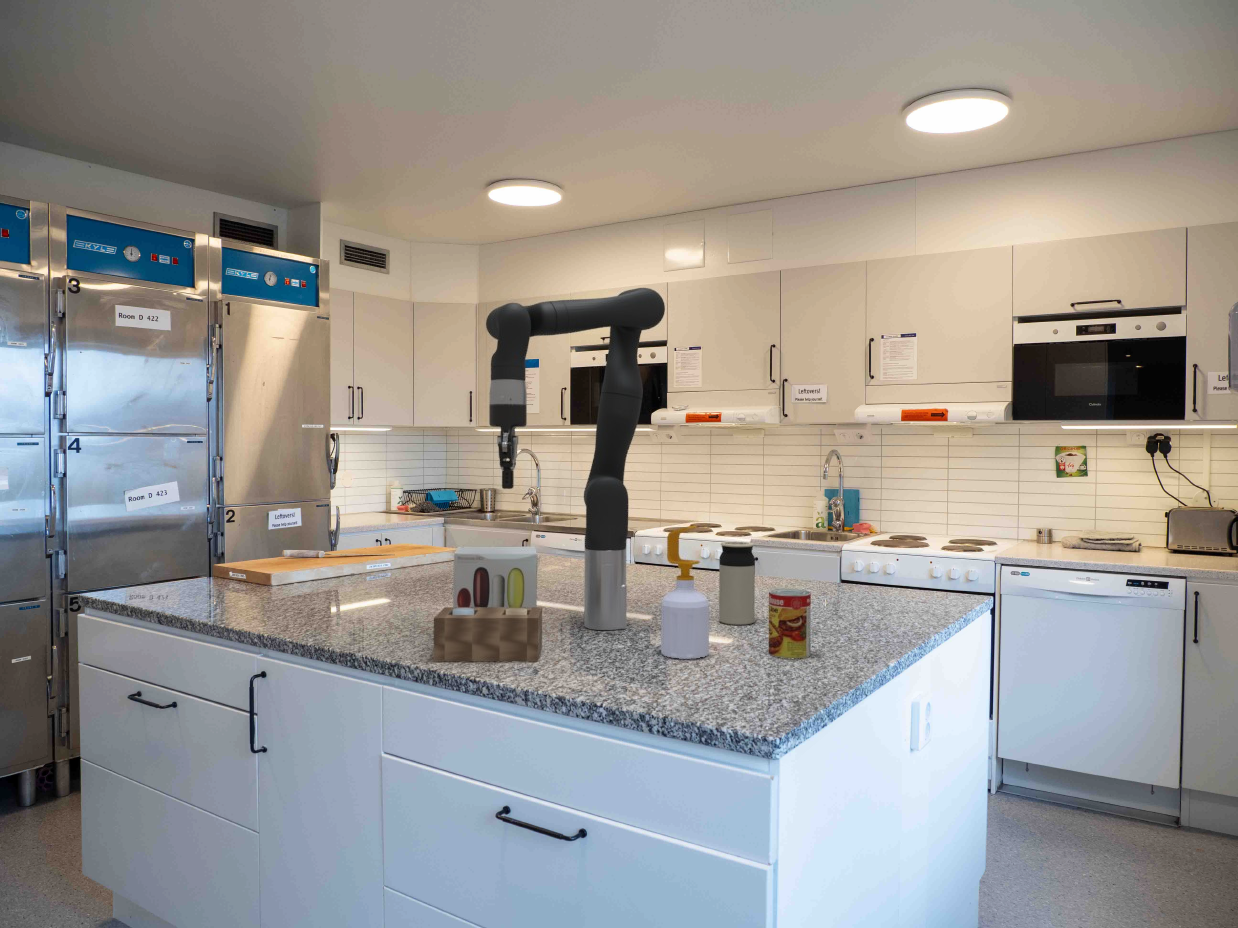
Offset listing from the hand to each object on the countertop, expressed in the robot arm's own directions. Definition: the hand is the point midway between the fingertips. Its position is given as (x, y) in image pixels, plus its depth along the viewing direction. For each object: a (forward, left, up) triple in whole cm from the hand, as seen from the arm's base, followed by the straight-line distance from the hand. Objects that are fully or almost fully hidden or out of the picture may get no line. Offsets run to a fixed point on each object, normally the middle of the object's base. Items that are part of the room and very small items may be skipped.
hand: (507, 488), depth 170 cm
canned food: (-55, +12, -31) cm, 64 cm away
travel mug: (-50, -19, -31) cm, 62 cm away
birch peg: (-3, +12, -30) cm, 32 cm away
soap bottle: (-35, +12, -31) cm, 48 cm away
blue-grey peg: (+7, +12, -30) cm, 33 cm away
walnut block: (+2, +12, -31) cm, 33 cm away
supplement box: (+3, -6, -31) cm, 32 cm away
